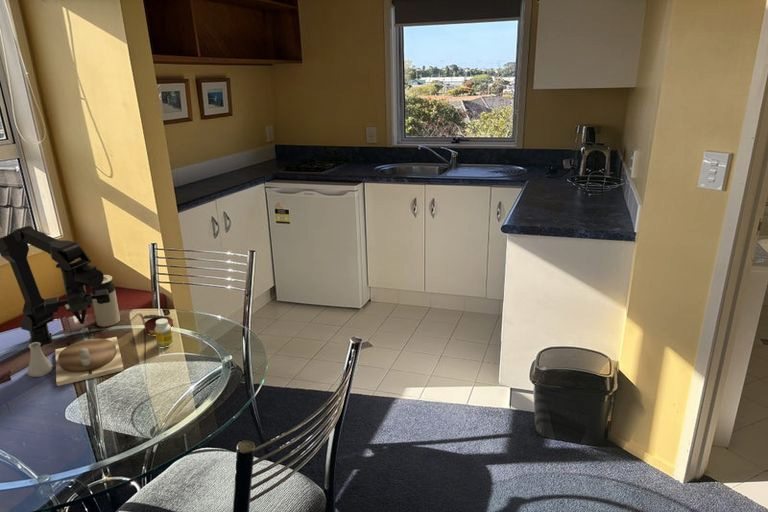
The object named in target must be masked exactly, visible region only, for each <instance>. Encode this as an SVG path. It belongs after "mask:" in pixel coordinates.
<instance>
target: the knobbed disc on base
mask: <svg viewBox="0 0 768 512" xmlns="http://www.w3.org/2000/svg"><path fill="white" fill-rule="evenodd" d="M107 339H108V338H90V339H84V340H83V339H82V340H80V341H76V342H75V343H72V344H70V345H67V346H65V347H66V348H65V347H64V348H65V349H64V350H62V351H61V352H60V354H59V356H58V360H59V365H60V367H61V368H62V369H64V370H67V371H72V372H82V371H88V370H93V369H96V368H99V367H101V366H103V365H105V364H107V363H109V362H110V361H111V360H112V359H113V358H114V357H115V356H116V346H115V344H114V343H113V342H112V341H110V340H107Z"/></svg>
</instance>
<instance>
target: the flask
mask: <svg viewBox="0 0 768 512" xmlns="http://www.w3.org/2000/svg"><path fill="white" fill-rule="evenodd" d="M41 345H42V344H41V343H39V342H34V343H31V344H30V343H29V344H28V345H27V347H28V348H29V349H30V350H29V351H30V358H29V363H28V368H27V371H26V375H28V376H29V377H31V378H34V377H35V378H37V377H38V378H40V377H44V376H46V375H48V374H49V373H51V372H52V371H53V369H54V368H55V366H54V365H53V364H52V362H51V361H50V360H49V359H48V358H47V356H45V354H44V353H43V350H42V348H41Z"/></svg>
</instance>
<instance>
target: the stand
mask: <svg viewBox="0 0 768 512" xmlns="http://www.w3.org/2000/svg"><path fill="white" fill-rule="evenodd" d="M106 339H107V340H110V341H112V342H113V343H114V344H115V346H116V356H115V357H114V358H113V359H112V360H111V361H110V362H109V363H107V364H105V365H103V366H101V367H99V368H96V369H93V370H88V371H82V372H72V371H67V370H64V369H62V368H61V367H60V365H59V360H58V356H59V354H60V352H61V351H62V350H64V349H65V348H66V347H67V346H65V347H61V348H57V349H55V380H56V386H57V387H60V386H64V385H69V384H73V383H77V382H81V381H85V380H89V379H93V378H99V377H102V376H103V377H104V376H107V375H111V374H115V373H119V372H123V371H125V369H124V364H123V359H122V355H121V350H120V347H119V341H118V337H117V336H114V337H108V338H106Z"/></svg>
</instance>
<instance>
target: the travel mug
mask: <svg viewBox="0 0 768 512" xmlns="http://www.w3.org/2000/svg"><path fill="white" fill-rule="evenodd" d="M103 275H104V279H103V282H102V284H101V285H100V286H99V287H96V288H93V287H90V293H91V295H94V294H95V291H96V290H102V289H107V290H108V292H109V297H110V302H109V303H103V304H99V303H97V300H94V301H93V304H92V305H93V306H92V307H93V311H94V316H95V321H96V325H97V326H98V327H99V326H100V327H104V328H105V327H106V326H107V327H112V326H115V325H117V324H118V323H119V322H120V320H121V317H120V311H119V305H118V298H117V294H116V288H115V283H113V281H112V280H113V276H112V275H110V274H103Z"/></svg>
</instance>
